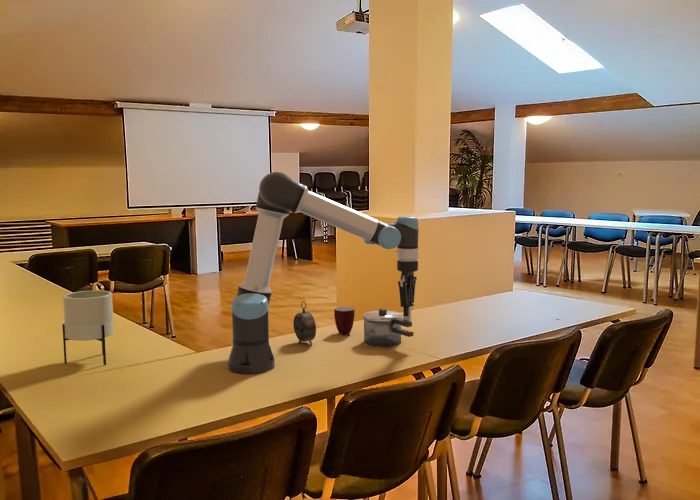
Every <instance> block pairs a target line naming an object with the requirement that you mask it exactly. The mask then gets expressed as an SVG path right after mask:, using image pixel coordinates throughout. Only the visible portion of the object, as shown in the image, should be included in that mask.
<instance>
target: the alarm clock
mask: <svg viewBox="0 0 700 500" xmlns="http://www.w3.org/2000/svg"><path fill="white" fill-rule="evenodd" d="M303 303H304V305H305V306H304V308H303ZM300 306H301V309H302V311H300V312H297V313H296V314H295V315H294V318H293V331H294V333H295V336H296V337H297V339H298V343H297V344H298V345H299V344H300V342H303V343H305V342H309V344H310V346H312V347H313V343H312V341H313V340H314V339H315V337H316V335H317V325H316V321H315V319H314V316H313V315H312V313H311V312H310V311H307V310H306V309H307V304H306V301H304V300H303V301H301V304H300ZM305 310H306V311H305Z"/></svg>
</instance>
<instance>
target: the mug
mask: <svg viewBox="0 0 700 500" xmlns="http://www.w3.org/2000/svg"><path fill="white" fill-rule="evenodd" d="M355 312H356V311H355V308H354V307H351V306H339V307H335V308H334V312H333V315H334V316H333V317H334V321H335V327H336V330H337V331H338V333H339V335H342V336H343V335H346V336H347V335H350V334H351V332H352V330H353V327H354V320H355Z"/></svg>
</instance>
